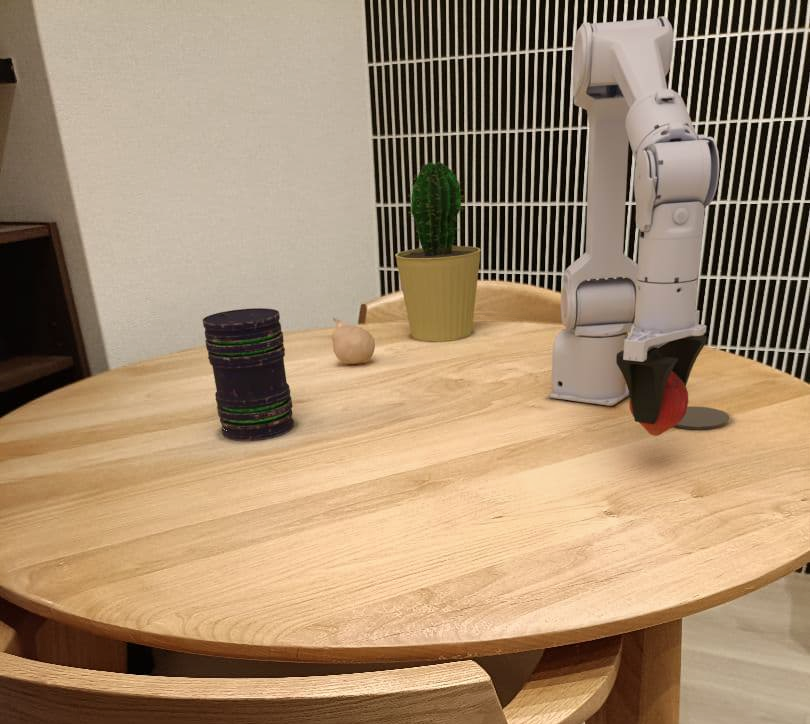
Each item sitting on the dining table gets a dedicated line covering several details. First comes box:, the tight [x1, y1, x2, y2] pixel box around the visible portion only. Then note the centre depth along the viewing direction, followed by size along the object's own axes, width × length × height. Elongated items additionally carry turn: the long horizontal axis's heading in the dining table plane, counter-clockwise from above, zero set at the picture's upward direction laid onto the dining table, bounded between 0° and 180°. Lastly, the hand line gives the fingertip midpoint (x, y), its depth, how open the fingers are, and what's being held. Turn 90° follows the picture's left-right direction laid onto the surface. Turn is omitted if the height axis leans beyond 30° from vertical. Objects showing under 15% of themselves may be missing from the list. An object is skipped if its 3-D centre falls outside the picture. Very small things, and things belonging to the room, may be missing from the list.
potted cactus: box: [395, 159, 482, 342], centre depth 147 cm, size 15×15×30 cm
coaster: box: [673, 405, 731, 431], centre depth 102 cm, size 8×8×1 cm
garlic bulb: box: [331, 316, 376, 365], centre depth 136 cm, size 7×6×8 cm
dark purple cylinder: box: [202, 307, 295, 442], centre depth 107 cm, size 10×10×15 cm
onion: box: [628, 371, 689, 437], centre depth 85 cm, size 6×6×8 cm
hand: (657, 413), depth 85 cm, fingers closed on onion, 6 cm apart
